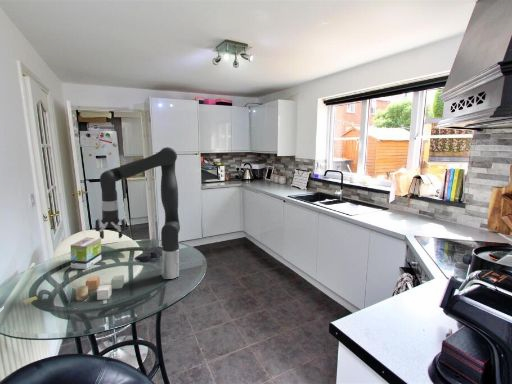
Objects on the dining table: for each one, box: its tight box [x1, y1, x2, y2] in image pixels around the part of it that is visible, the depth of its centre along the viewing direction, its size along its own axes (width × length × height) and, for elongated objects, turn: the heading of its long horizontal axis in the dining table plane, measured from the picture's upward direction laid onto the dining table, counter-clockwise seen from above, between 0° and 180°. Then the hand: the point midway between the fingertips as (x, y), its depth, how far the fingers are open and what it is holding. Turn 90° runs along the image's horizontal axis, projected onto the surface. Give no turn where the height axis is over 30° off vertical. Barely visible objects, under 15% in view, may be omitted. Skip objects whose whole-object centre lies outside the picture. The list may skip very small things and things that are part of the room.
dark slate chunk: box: [134, 246, 162, 263], centre depth 186 cm, size 15×22×5 cm
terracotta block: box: [85, 275, 101, 291], centre depth 142 cm, size 5×5×5 cm
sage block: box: [110, 274, 125, 290], centre depth 144 cm, size 5×5×5 cm
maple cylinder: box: [75, 285, 89, 302], centre depth 132 cm, size 5×5×5 cm
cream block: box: [96, 284, 113, 301], centre depth 134 cm, size 5×5×5 cm
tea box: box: [70, 236, 102, 270], centre depth 167 cm, size 15×10×15 cm
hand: (111, 238), depth 143 cm, fingers open, 8 cm apart
